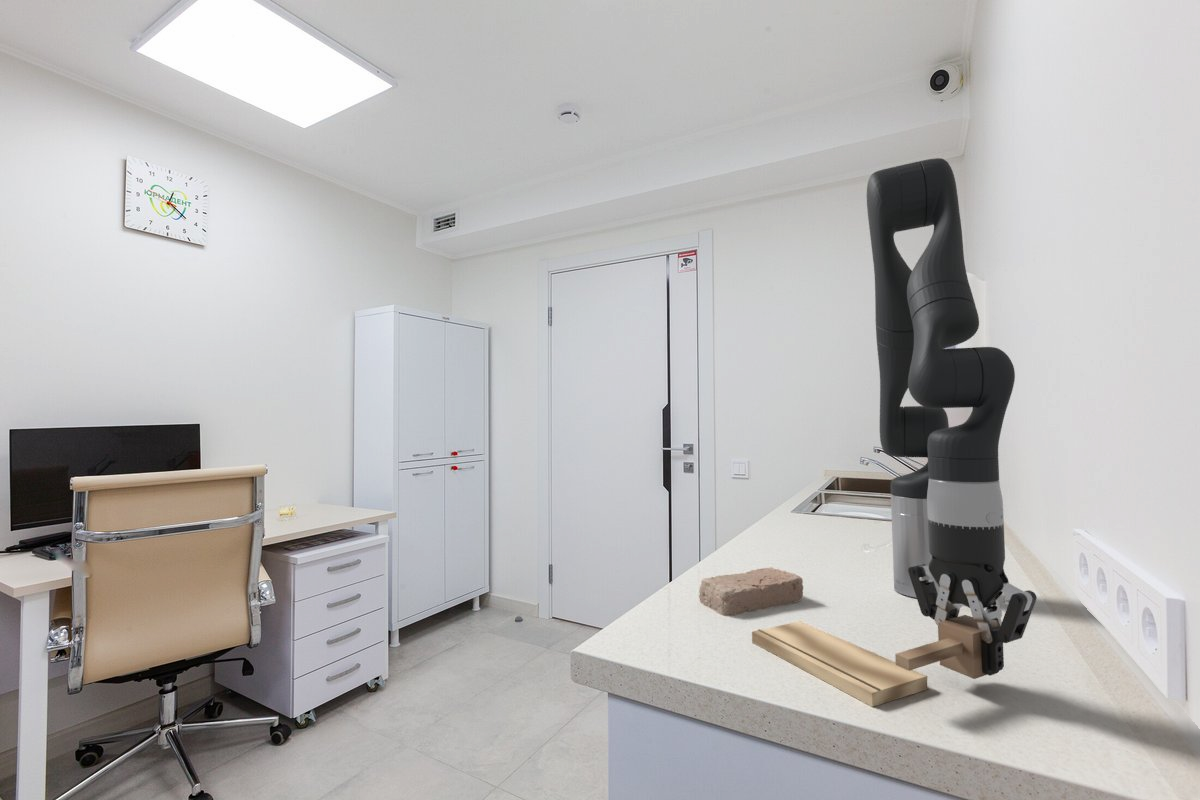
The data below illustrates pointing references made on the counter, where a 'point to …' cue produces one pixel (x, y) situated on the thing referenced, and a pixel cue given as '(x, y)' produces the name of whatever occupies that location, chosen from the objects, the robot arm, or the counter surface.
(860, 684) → the board
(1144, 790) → the counter surface
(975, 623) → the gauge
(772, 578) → the brick
